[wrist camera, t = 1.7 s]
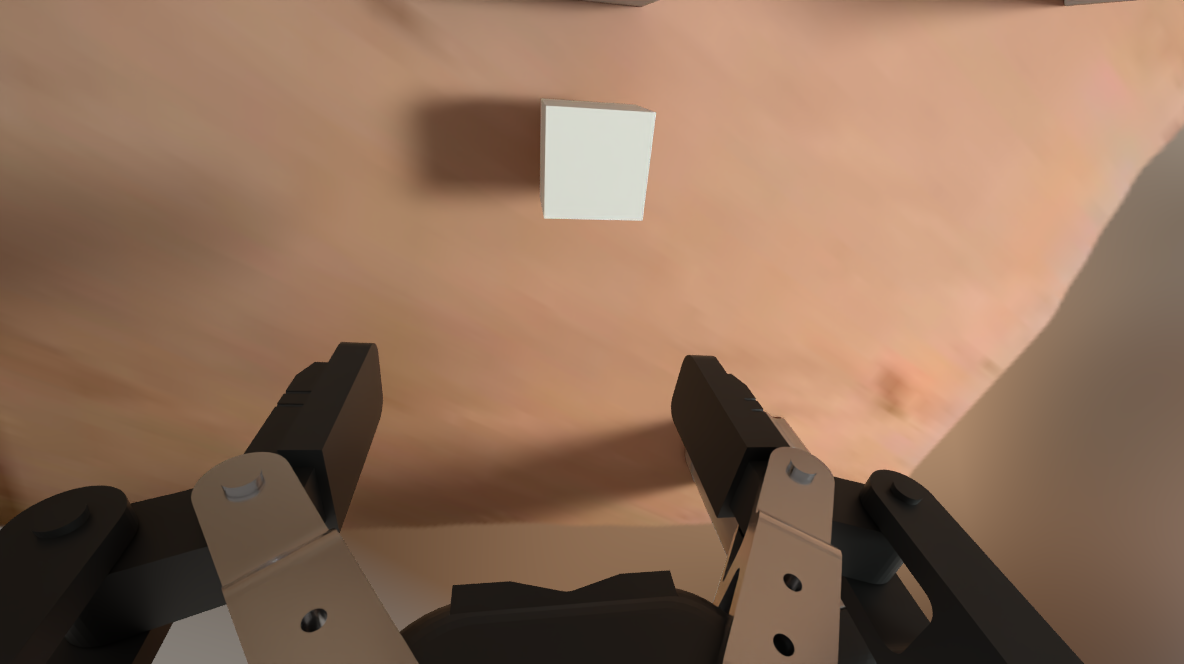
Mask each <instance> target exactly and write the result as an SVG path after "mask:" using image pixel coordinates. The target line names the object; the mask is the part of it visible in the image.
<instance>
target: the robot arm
mask: <svg viewBox="0 0 1184 664" xmlns="http://www.w3.org/2000/svg"><path fill="white" fill-rule="evenodd" d="M755 399H756V398H755V397H754V395H753V394H752V393H751V391H750V390H749V388H748V387H747V386H746V385H745V384H744V383H742V382H741V381H740V380H739V379H737V378H736V377H735V376H733V375H732V374H727V373H726V371H725V370H724V368H723V367H722V366H721V364H720V363H719V361H718V360H717V358H716V357H714V356H701V355H687V356H686V357H685V358H684V360H683V363H682V366H681V370H680V373H679V377H678V380H677V383H676V387H675V390H674V394H673V397H672V402H671V413H672V418H673V421H674V424H675V426H676V428H677V430H678V432H679V435H680V437H681V439H682V441H683V444H684V446H685V448H686V451H685V458H686V463H687V465H688V468H689V470H690V472H691V475H692V478H693V480H694V482H695V484H696V486H697V488H698V491H699V493H700V495H701V498H702V500H703V502H704V505H705V507H706V509H707V512H708V514H709V516H710V518H711V521H712V523H713V525H714V528H715V530H716V532H717V535H718V537H719V539H720V542H721V544H722V546H723V548H724V551H725V553H726V555H727V559H726V562H725V565H724V569H723V572H722V575H721V579H720V582H719V585H718V589H717V592H716V595H715V598H714V601H713V603H711V602H709V601H707V600H706V599H704V598H701V597H699V596H697V595H695V594H693V593H690V592H687V591H683V590H680V589H676V588H675V586H674V583H673V579H672V576H671V573H670V571H655V572H641V573H626V574H619V575H616V576H613V577H610V578H608V579H604V580H602V581H599V582H596V583H593V584H590V585H588V586H585V587H582V588H579V589H576V590H573V591H568V592H564V591H558V590H553V589H547V588H542V587H537V586H532V585H526V584H521V583H516V582H510V581H509V582H496V583H495V582H494V583H480V584H466V585H453V588H452V597H451V604H449V605H446V606H444V607H441V608H438V609H437V610H434V611H432V612H430V613H428V614H426V615H424V616H422V617H421V618H419V619H417V620H416V621H414V622H412V623H411V624H409V625H408V626H407V627H405V628H404V629H403V630H401V631H400V632H399V630H398V629H397V627H396V626H395V624H394V622H393V621H392V619H391V617H390V616H389V614H388V612H387V611H386V609H385V608H384V606H383V604H382V602H381V601H380V599H379V598H378V596H377V594H376V593H375V591H374V589H373V588H372V586H371V584H370V583H369V581H368V579H367V578H366V576H365V574H364V573H363V571H362V570H361V568H360V566H359V564H358V563H357V561H356V560H355V558H354V556H353V555H352V553H351V552H350V550H349V548H348V546H347V545H346V543H345V541H344V540H343V538H342V537H341V535H340V534H339V533H340V531H341V528H342V525H343V522H344V519H345V516H346V514H347V511H348V508H349V505H350V502H351V499H352V497H353V494H354V491H355V488H356V485H357V482H358V480H359V477H360V474H361V471H362V468H363V466H364V463H365V460H366V457H367V454H368V451H369V449H370V446H371V443H372V440H373V437H374V434H375V432H376V429H377V426H378V423H379V420H380V417H381V412H382V404H383V393H382V384H381V374H380V365H379V356H378V349H377V346H376V344H375V343H352V342H341V343H340V344H339V345H338V347H337V348H336V350H335V352H334V353H333V355H332V357H331V359H330V360H329V362H314V363H313V364H311V365H310V366H309V367H307V368H306V369H304V370H303V371H301V372H300V373H298V374H297V375H296V376H295V378H294V379H293V381H292V382H291V384H290V385H289V387H288V388H287V390H286V394H283V396H282V397H281V399H280V400H279V402H278V403H277V407H275V408H274V409H273V411H272V412H271V414H270V415H269V417H268V418H267V420H266V421H265V423H264V424H263V426H262V427H261V429H260V430H259V432H258V433H257V435H256V436H255V438H254V439H253V441H252V442H251V444H250V445H249V447H248V448H247V450H246V451H245V453H244V454H243V455H239V456H236V457H233V458H231V459H228V460H226V461H224V462H222V463H220V464H218V465H216V466H215V467H213V468H212V469H210V470H209V471H208V472H207V473H205V474H204V475H203V476H202V477H201V478H200V479H199V480H198V482H197V483H196V485H195V486H194V488H193V489H189V490H186V491H182V492H178V493H174V494H170V495H165V496H161V497H157V498H153V499H148V500H144V501H140V502H136V503H131V504H130V502H129V501H128V499H127V497H126V495H125V494H124V493H123V492H122V491H121V490H119V489H117V488H114V487H111V486H88V487H82V488H77V489H73V490H69V491H66V492H63V493H60V494H57V495H54V496H52V497H49V498H47V499H45V500H43V501H41V502H39V503H37V504H35V505H33V506H31V507H29V508H28V509H26V510H25V511H23V512H21V513H20V514H19V515H17V516H16V517H14V518H13V519H12V520H11V521H10V522H8V523H7V524H6V525H5V526H4V527H3V528H2V529H1V530H0V664H151V663H152V662H153V660H154V658H155V656H156V654H157V652H158V650H159V648H160V646H161V644H162V643H163V640H164V639H165V637H166V635H167V633H168V631H169V629H170V627H171V625H172V624H173V622H175V621H178V620H181V619H184V618H187V617H190V616H193V615H196V614H199V613H202V612H204V611H208V610H211V609H213V608H216V607H220V606H223V605H225V604H227V607H228V609H229V612H230V615H231V618H232V620H233V623H234V626H235V629H236V632H237V634H238V637H239V640H240V643H241V645H242V648H243V651H244V654H245V656H246V659H247V662H248V664H1084V663H1083V662H1082V661H1081V660H1080V659H1079V658H1078V656H1077V655H1076V654H1075V653H1074V652H1073V651H1072V650H1071V649H1070V648H1069V646H1068V645H1067V644H1066V643H1065V642H1064V641H1063V640H1062V639H1061V637H1060V636H1059V635H1058V634H1057V633H1056V632H1055V631H1054V630H1053V629H1052V628H1051V627H1050V625H1049V624H1048V623H1047V622H1046V621H1045V620H1044V619H1043V617H1042V616H1041V615H1040V614H1039V613H1038V612H1037V611H1036V610H1035V609H1034V607H1033V606H1032V605H1031V604H1030V603H1029V602H1028V601H1027V600H1026V599H1025V597H1024V596H1023V595H1022V594H1021V593H1020V592H1019V591H1018V590H1017V589H1016V587H1015V586H1014V585H1013V584H1012V583H1011V582H1010V581H1009V580H1008V578H1006V576H1005V575H1004V574H1003V573H1002V572H1001V571H1000V570H999V568H998V567H997V566H996V565H995V564H994V563H993V562H992V561H991V560H990V558H988V556H987V555H986V554H985V553H984V552H983V551H982V550H981V549H980V547H979V546H978V545H977V544H976V543H975V542H974V541H973V540H972V539H971V537H970V536H969V535H968V534H967V533H966V532H965V531H964V530H963V528H962V527H961V526H960V525H959V524H958V523H957V522H956V521H955V520H954V519H953V517H952V516H951V515H950V514H949V513H948V512H947V511H946V510H945V508H944V507H943V506H942V505H941V504H940V503H939V502H938V501H937V500H936V499H935V497H934V496H933V495H932V494H931V493H930V492H929V491H928V490H927V489H926V488H924V487H923V486H922V485H920V484H919V483H918V482H916V481H915V480H913V479H911V478H909V477H907V476H905V475H903V474H901V473H898V472H895V471H890V470H877V471H875V472H873V473H872V474H871V476H870V477H869V479H868V480H867V482H866V484H862V483H858V482H854V481H849V480H845V479H841V478H837V477H833V475H832V473H831V471H830V470H829V468H828V467H827V466H826V465H825V464H824V463H823V462H822V461H821V460H819V459H818V458H817V457H815V456H813V455H812V454H811V453H810V452H809V451H808V449H807V448H806V447H805V445H804V444H803V443H802V441H801V440H800V439H799V437H798V436H797V435H796V433H795V432H794V431H793V429H792V428H791V427H790V425H789V424H788V423H787V421H786V420H785V419H784V418H773V417H772V416H770V415H769V414H768V413H766V412H764V411H763V408H762V407H761V405H760V404H759V402H758V401H756V400H755ZM903 563H904V564H905V565H906V566H907V568H908V569H909V571H910V572H911V573H912V575H913V576H914V578H915V579H916V580H917V582H918V583H919V584H920V586H921V587H922V589H923V590H924V591H925V593H926V594H927V596H928V598H929V600H930V602H931V605H932V610H933V617H932V621H931V623H930V622H929V620H928V619H927V618H926V616H925V615H924V613H923V612H922V610H921V609H920V607H919V606H918V605H917V603H916V602H915V600H914V599H913V597H912V596H911V594H910V593H909V591H908V590H907V589H906V587H905V586H904V584H903V583H902V581H901V580H900V578H899V577H898V576H897V574H896V572H897V570H898V569H899V568H900V567H901V565H902V564H903Z"/></svg>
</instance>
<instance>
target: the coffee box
mask: <svg viewBox="0 0 1184 664" xmlns="http://www.w3.org/2000/svg"><path fill="white" fill-rule="evenodd" d="M1120 1H1134V0H1064V5H1065V6H1073V5H1086V4H1097V3H1109V2H1120Z"/></svg>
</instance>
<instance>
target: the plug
mask: <svg viewBox="0 0 1184 664" xmlns="http://www.w3.org/2000/svg"><path fill="white" fill-rule="evenodd" d="M655 118H656V112H653V111H651V110H648V109H646V108H643V107H641V106H638V105H635V104H619V103H604V102H589V101H574V100H558V99H543V98H541V129H540V200H541V205H542V210H543V215H544V218H550V219H595V220H640V221H642V220H643V212H644V204H645V196H646V188H647V180H648V173H649V165H650V157H651V149H652V141H653V133H654V125H655Z"/></svg>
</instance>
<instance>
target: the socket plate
mask: <svg viewBox="0 0 1184 664" xmlns="http://www.w3.org/2000/svg"><path fill="white" fill-rule="evenodd" d="M581 1H591V2H600V3H610V4H620V5H630V6H640V7H642V6H645V5H648V4H650V3H653V2H656V1H658V0H581Z"/></svg>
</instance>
